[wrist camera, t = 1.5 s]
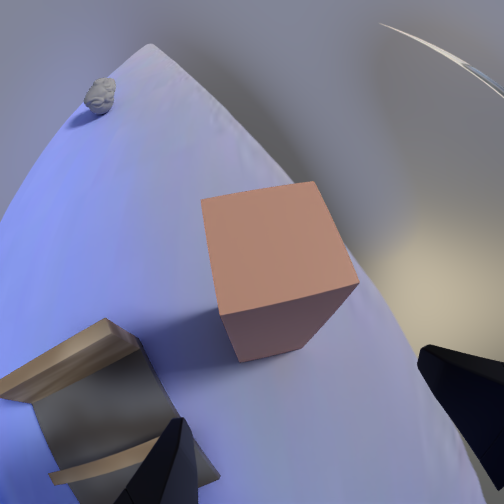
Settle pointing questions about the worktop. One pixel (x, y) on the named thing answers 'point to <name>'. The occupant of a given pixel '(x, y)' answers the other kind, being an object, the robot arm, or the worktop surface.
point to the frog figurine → (101, 95)
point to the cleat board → (98, 410)
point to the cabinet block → (275, 266)
